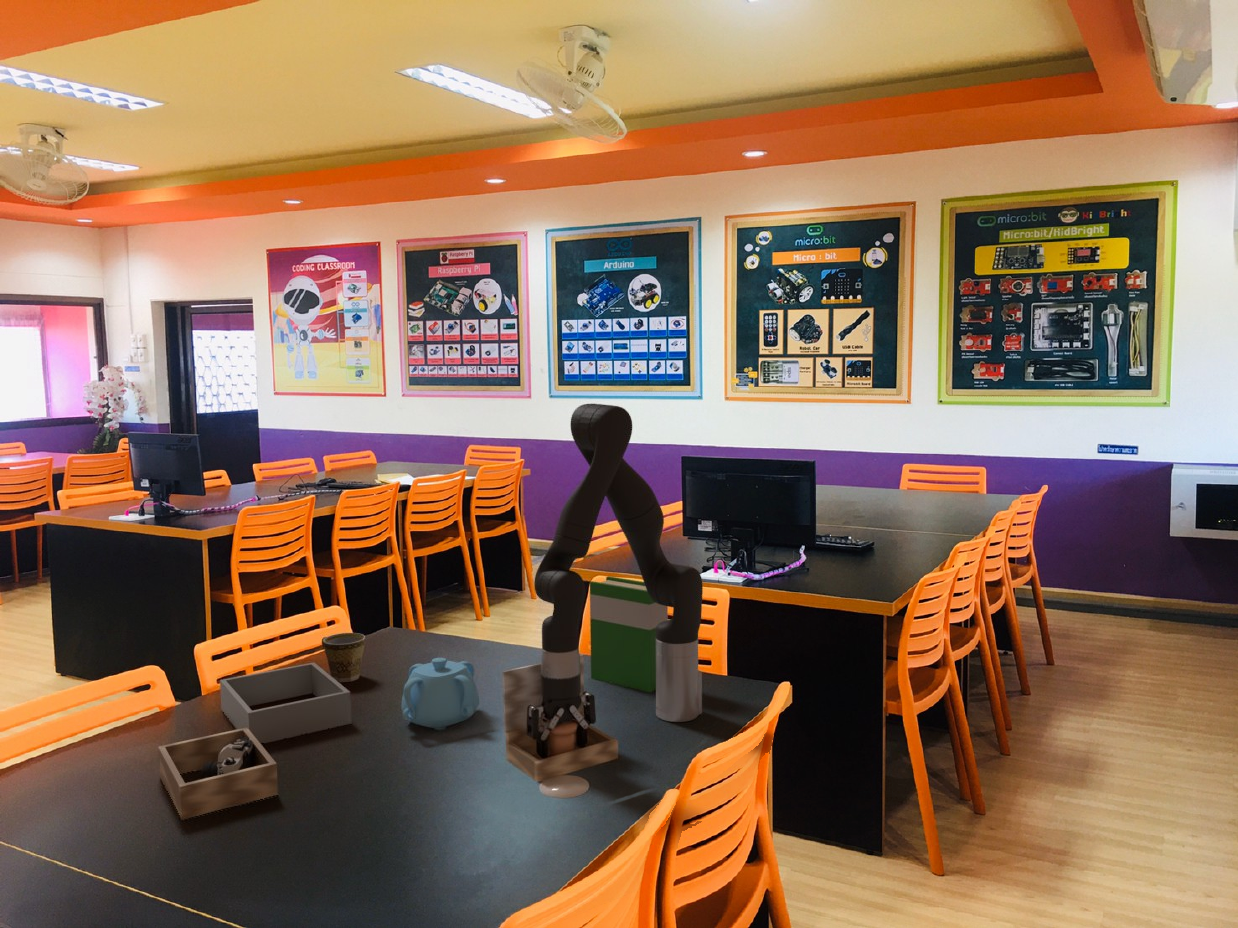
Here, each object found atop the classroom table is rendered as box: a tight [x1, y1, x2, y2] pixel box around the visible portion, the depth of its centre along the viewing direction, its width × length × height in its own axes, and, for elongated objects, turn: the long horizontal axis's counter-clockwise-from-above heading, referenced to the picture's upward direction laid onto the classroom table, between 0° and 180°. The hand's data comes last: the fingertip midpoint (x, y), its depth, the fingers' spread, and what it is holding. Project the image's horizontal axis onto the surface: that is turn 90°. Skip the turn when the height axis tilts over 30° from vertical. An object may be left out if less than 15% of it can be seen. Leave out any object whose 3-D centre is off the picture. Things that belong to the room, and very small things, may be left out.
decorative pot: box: [401, 657, 480, 731], centre depth 206 cm, size 16×16×14 cm
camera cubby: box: [157, 727, 279, 821], centre depth 175 cm, size 16×21×6 cm
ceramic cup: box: [321, 632, 366, 683], centre depth 235 cm, size 13×10×10 cm
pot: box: [547, 720, 577, 757], centre depth 184 cm, size 6×6×7 cm
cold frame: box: [502, 653, 619, 783], centre depth 184 cm, size 18×14×18 cm
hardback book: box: [589, 575, 669, 693], centre depth 229 cm, size 18×7×24 cm, turn 53°
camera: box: [200, 737, 254, 780], centre depth 174 cm, size 13×8×9 cm, turn 9°
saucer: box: [538, 774, 590, 799], centre depth 173 cm, size 9×9×1 cm
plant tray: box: [219, 662, 353, 745], centre depth 209 cm, size 21×25×7 cm
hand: (562, 751), depth 184 cm, fingers open, 8 cm apart
